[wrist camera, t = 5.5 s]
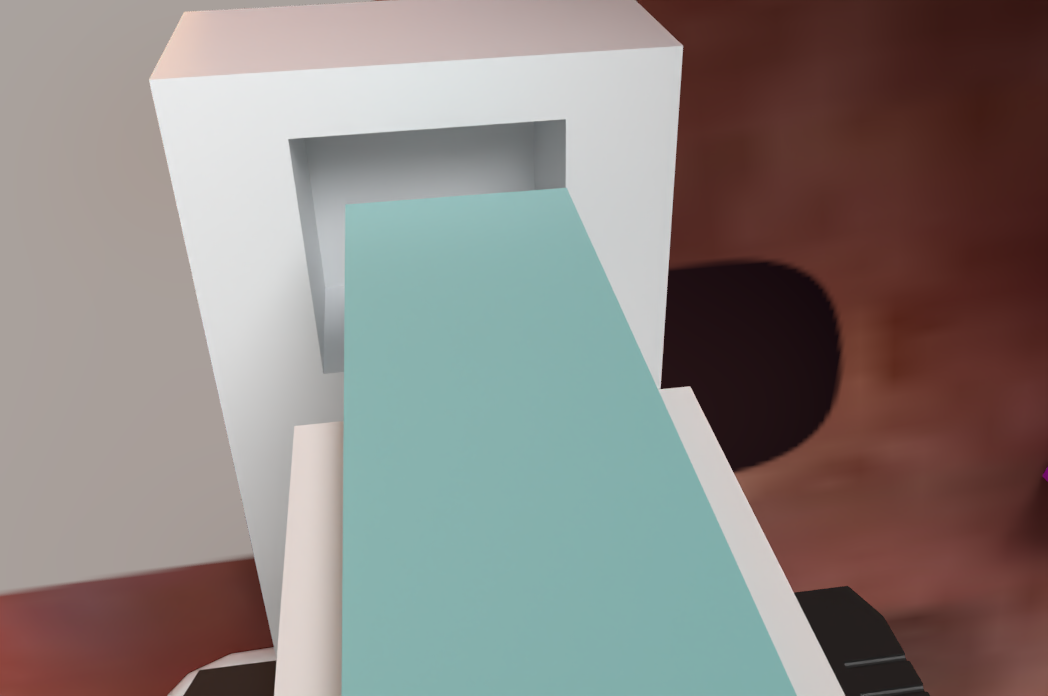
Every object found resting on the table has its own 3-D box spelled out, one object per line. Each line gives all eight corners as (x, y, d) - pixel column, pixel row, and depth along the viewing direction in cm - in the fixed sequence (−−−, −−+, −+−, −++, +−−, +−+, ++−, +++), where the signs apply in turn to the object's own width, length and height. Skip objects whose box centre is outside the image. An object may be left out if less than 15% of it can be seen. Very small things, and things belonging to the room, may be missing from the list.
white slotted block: (184, 11, 22) (148, 79, 18) (621, -13, 24) (683, 45, 19) (300, 611, 33) (295, 744, 28) (602, 573, 34) (640, 694, 30)
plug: (345, 204, 18) (337, 1202, 6) (566, 187, 18) (973, 1082, 6) (370, 413, 20) (401, 1411, 8) (565, 393, 21) (855, 1314, 9)
